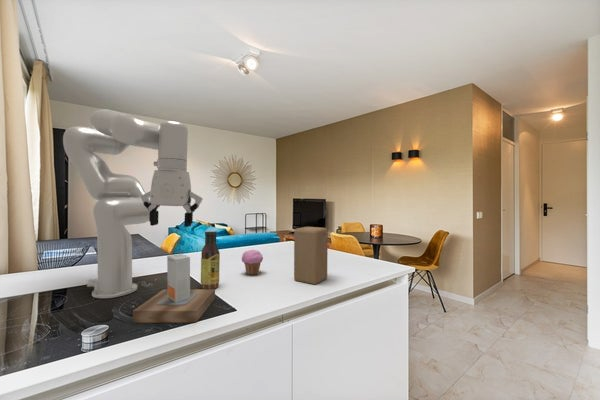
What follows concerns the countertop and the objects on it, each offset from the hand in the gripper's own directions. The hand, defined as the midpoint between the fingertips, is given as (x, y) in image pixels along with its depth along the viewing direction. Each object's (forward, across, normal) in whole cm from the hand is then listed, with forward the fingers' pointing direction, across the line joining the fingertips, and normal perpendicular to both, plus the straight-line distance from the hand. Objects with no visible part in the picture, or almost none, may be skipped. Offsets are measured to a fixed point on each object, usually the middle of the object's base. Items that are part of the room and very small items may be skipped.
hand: (171, 225), depth 79 cm
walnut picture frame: (+24, +4, -2) cm, 24 cm away
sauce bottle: (+24, +7, +17) cm, 30 cm away
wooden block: (+23, +43, +26) cm, 55 cm away
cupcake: (+24, +19, +34) cm, 45 cm away
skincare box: (+20, +4, -2) cm, 21 cm away
